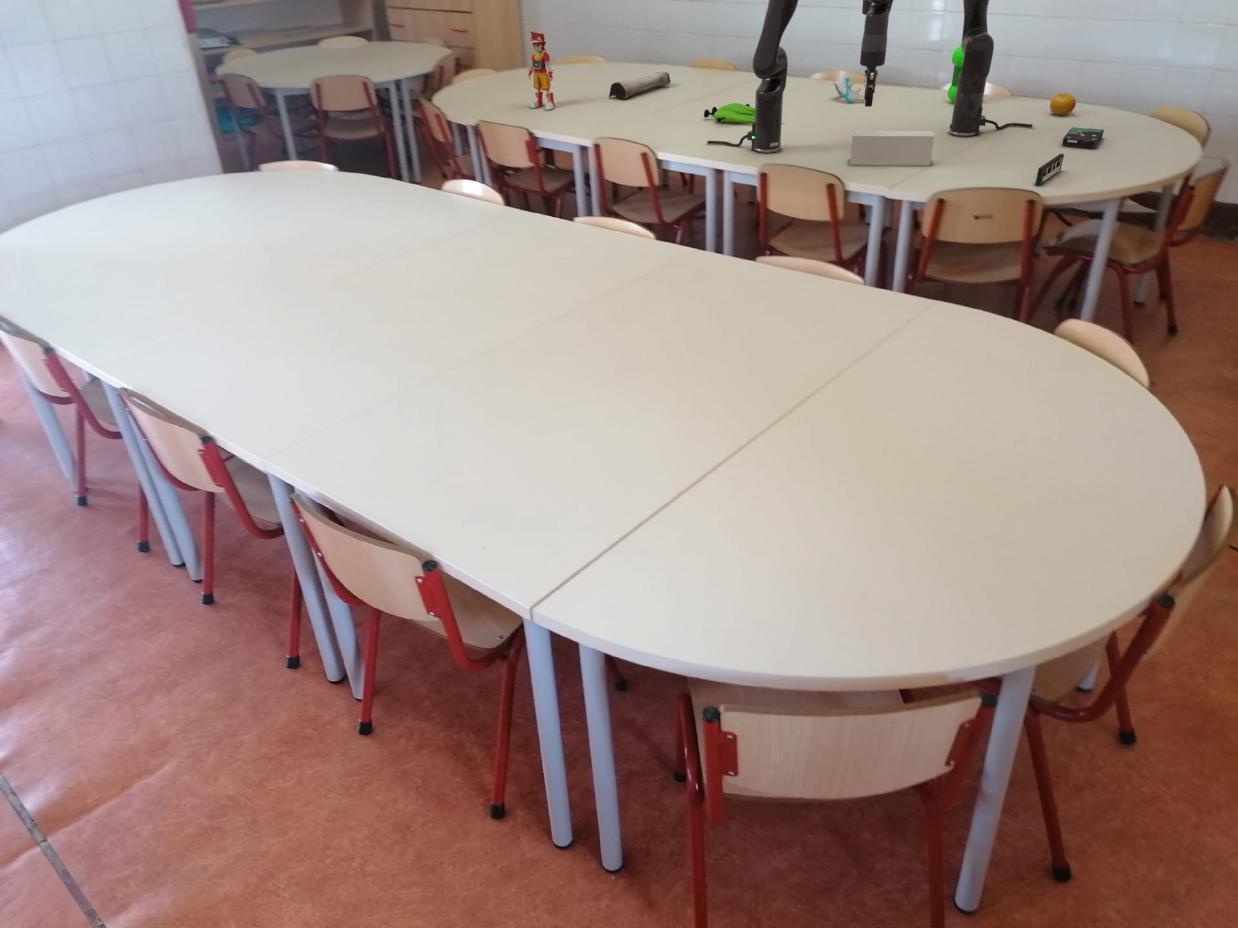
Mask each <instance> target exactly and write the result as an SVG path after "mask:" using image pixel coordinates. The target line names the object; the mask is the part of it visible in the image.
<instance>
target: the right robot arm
mask: <svg viewBox="0 0 1238 928" xmlns="http://www.w3.org/2000/svg"><path fill="white" fill-rule="evenodd" d="M962 1H963V2H962V3H963V27H962V34H961V35H962V36H961V43H960V45H961V48H962V52H963V54H964V60H963V66H962V70H961V72H960V73H959V77H958V83H957V90H956V96H955V103H953V110H952V115H951V123H950V125H949V134H950V135H952V136H956V137H973V136H979V131H980V127H985V126H986V123H987V124H991V125H994V127H995V129H996V130H998V131H999V130H1003V129H1004V128H1007V127H1024V128H1033V124H1031V123H1021V122H1008V123H1005V124H1003V125H1001V126H999V124H998V123H997V122H996V121H994V120H992V119H987V118H986V116H985V114H984V115H983V109H984V107H983V102H984V96H985V90H986V83H987V79H988V76H989V74H990V71H991V65H992V60H993V56H994V51H995V41H994V38H993V37H992V36H991V35H990V34H989V31H988V8H989V4H990V0H962ZM870 6H871V2H870V1H869V0H862V7H861V13H862V15H864V16H866V14H867V13H868V12H869V10H870Z"/></svg>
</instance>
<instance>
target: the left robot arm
mask: <svg viewBox="0 0 1238 928" xmlns="http://www.w3.org/2000/svg"><path fill="white" fill-rule="evenodd" d="M869 1H870V2H871V6H870V10H869V12H868V13H867V14H866V15H865V18H864V27H863V34H862V39H861V48H860V59H859V65H861V66H862V67H866V69H865V70H864V74H863V75H864V79H863V80H864V96H863V97H864V99H865V100H864V107H866V108H870V107H873V102H874V101H873V99H874V94H875V92H876V89H875V88H876V87H877V79H878V76H879V72H878V71H879V70H878V69H877V67H882V66H883V65H885V64H886V55H887V46H888V29H889V20H890V19H889V18H890V13H891V10H892V7H893V3H894V0H869ZM798 4H799V0H768V3H767V7H766V12H765V16H764V20H763V24H762V29H761V33H760V35H759V39H758V43H757V45H756V48H755V51H754V54H753V58H752V71H753V74H754V75H755V76H756V78H758V79H760V80H761V81H760V84H759V86H758V87H757V88H756V90H755V99H754V103H755V105H754V108H755V115H754V116H755V121H753V122H752V123H751V130H750V131H748V132H747V134H745V135H743V136H742V137H741V138H740V140H739V142H738V143H733V142H729V141H726V140H725V141H723V140H707V141H706V143H707V145H708V144H709V145H727V146H730V147H735V148H738V147H740V146H742V144H743V142H744V140H745V139H747V141H750V142H751V149H750V150H751V151H754V152H757V153H761V154H772V153H777V152H779V151H781V148H782V145H781V144H782V143H781V141H782V124H783V123H782V122H783V103H784V101H783V100H784V92H785V90H786V86H787V78H788V77H787V76H788V64H789V61H788V60H789V59H788V55H787V53H786V51H785V49H784V48H783V47H782V46H780V44H781V42H782V41H781V40H782V38H783V35H784V33H785V31H786V29H787V28H788V26H789V24H790V22H791V20H792V18H793V16H794V15H795V12H796V10H797V8H798Z"/></svg>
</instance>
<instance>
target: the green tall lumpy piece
mask: <svg viewBox="0 0 1238 928" xmlns="http://www.w3.org/2000/svg"><path fill="white" fill-rule="evenodd" d="M963 60H964V54H963V52H962V48H961V44H960V45H959V46H957V47H956V48H955V49H954V51H953V52H952V57H951V61H952V65H953V71H952V80H951V84H950V86H949V88H948V90H947V97H948V99H949V100H950V101H951V103H953V104H954V103H955V96H956V90H957V83H958V77H959V73H960V72H961V70H962V66H963Z"/></svg>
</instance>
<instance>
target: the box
mask: <svg viewBox="0 0 1238 928" xmlns="http://www.w3.org/2000/svg"><path fill="white" fill-rule="evenodd" d="M851 134H852V135H851V144H850V145H851V146H850V155H849V156H850V157H849V165H850V166H913V167H914V166H915V167H916V166H924V167H925V166H926V167H927V166H931V162H932V155H933V148H934V142H935V141H934V140H935V134H934V130H852V133H851Z"/></svg>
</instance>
